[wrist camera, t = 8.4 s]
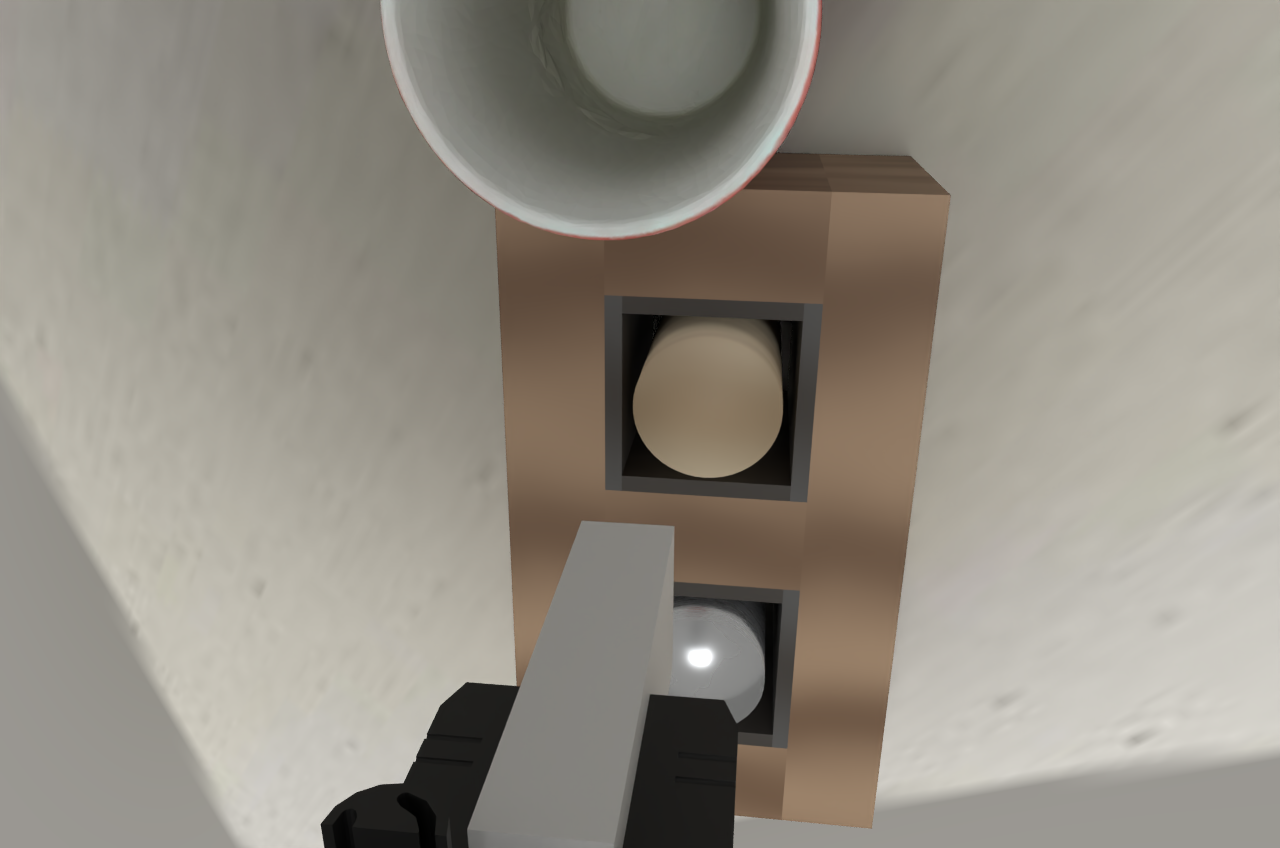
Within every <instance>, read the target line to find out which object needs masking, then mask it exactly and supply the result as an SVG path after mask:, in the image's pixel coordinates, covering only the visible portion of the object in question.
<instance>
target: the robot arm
mask: <svg viewBox="0 0 1280 848" xmlns="http://www.w3.org/2000/svg"><path fill="white" fill-rule="evenodd" d="M673 587H674V526H664V525H647V524H630V523H613V522H595V521H581V524H580V527H579V529H578V532H577V535H576V538H575V540H574V543H573V546H572V548H571V551H570V554H569V556H568V559H567V562H566V564H565V567H564V570H563V573H562V575H561V578H560V581H559V583H558V586H557V589H556V591H555V594H554V597H553V599H552V602H551V605H550V608H549V610H548V613H547V616H546V618H545V621H544V624H543V626H542V629H541V632H540V634H539V637H538V640H537V643H536V645H535V648H534V651H533V653H532V656H531V659H530V661H529V664H528V667H527V669H526V672H525V675H524V678H523V680H522V683H521V686H507V685H495V684H482V683H469V682H466V683H465V684H464V685H463V686H462V687H461V688H460V689H459V690H457V691H456V692H455V693H454V694H453V695H452V696H451V697H449V698H448V699H447V700H446V701H445V702H444V703H443V704H442V705H440V707H439V710H438V712H437V714H436V716H435V718H434V720H433V722H432V724H431V726H430V728H429V731H428V733H427V739H424V741H423V743H422V745H421V747H420V750H419V752H418V754H417V756H416V762H413V764H412V766H411V768H410V771H409V773H408V775H407V777H406V779H405V781H404V783H401V784H383V785H378V786H375V787H372V788H369V789H366V790H363V791H360V792H357V793H355V794H353V795H352V796H350V797H349V798H347V799H346V800H344V801H343V802H341V803H340V804H338V805H336V806H335V807H334V808H333V810H332V811H331V812H330V813H329V815H328V816H327V817H326V818H325V819H324V821H323V822H322V823H321V829H322V835H323V841H324V847H325V848H733V835H734V833H733V832H734V814H735V793H736V772H737V750H738V729H739V727H738V725H737V723H736V721H735V719H734V718H733V716H732V714H731V712H730V710H729V708H728V706H727V704H726V702H725V701H724V700H719V699H706V698H693V697H680V696H668V693H669V686H670V680H671V673H672V658H673Z"/></svg>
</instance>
